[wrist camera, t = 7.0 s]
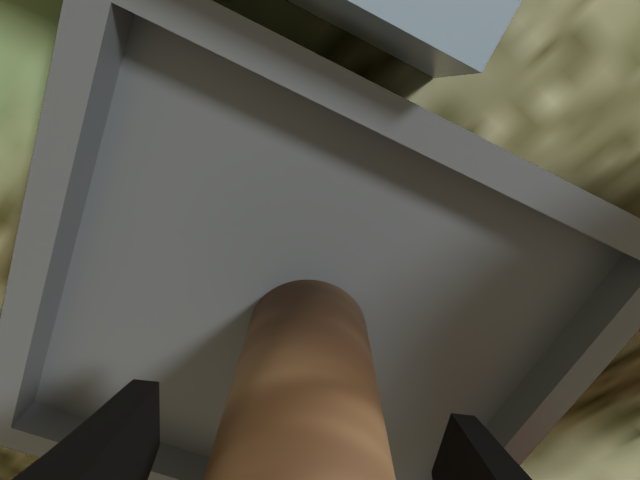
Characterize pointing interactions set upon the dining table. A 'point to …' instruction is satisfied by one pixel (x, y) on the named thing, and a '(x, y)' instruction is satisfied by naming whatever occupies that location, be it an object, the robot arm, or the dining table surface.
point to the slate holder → (424, 29)
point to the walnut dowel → (303, 394)
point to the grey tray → (289, 241)
